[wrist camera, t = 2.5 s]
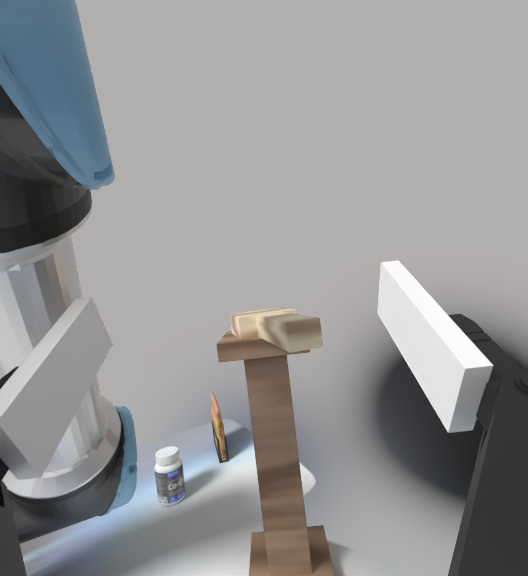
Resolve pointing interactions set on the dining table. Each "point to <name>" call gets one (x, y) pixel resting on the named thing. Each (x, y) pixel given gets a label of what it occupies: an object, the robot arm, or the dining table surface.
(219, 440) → the ammunition clip
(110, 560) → the dining table surface
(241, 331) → the paddle
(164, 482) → the pill bottle
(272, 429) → the stand
